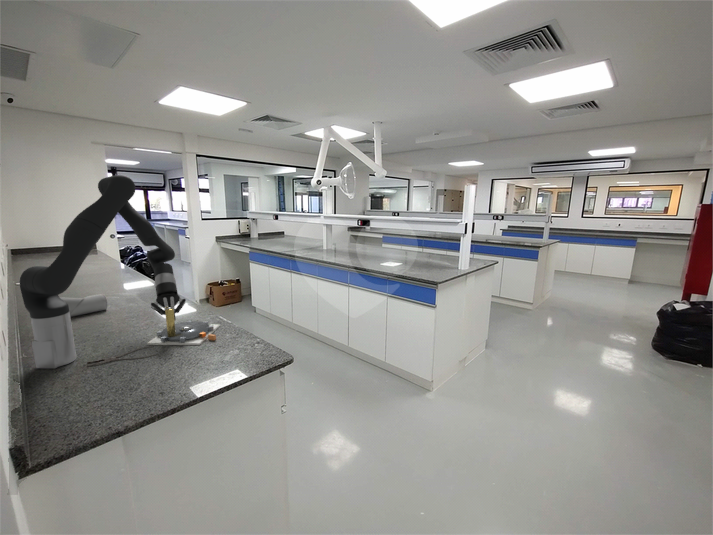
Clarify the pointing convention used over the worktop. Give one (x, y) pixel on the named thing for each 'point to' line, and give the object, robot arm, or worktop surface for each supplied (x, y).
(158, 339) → the base plate
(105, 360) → the pliers
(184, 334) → the sprocket
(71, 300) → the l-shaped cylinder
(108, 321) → the worktop surface
